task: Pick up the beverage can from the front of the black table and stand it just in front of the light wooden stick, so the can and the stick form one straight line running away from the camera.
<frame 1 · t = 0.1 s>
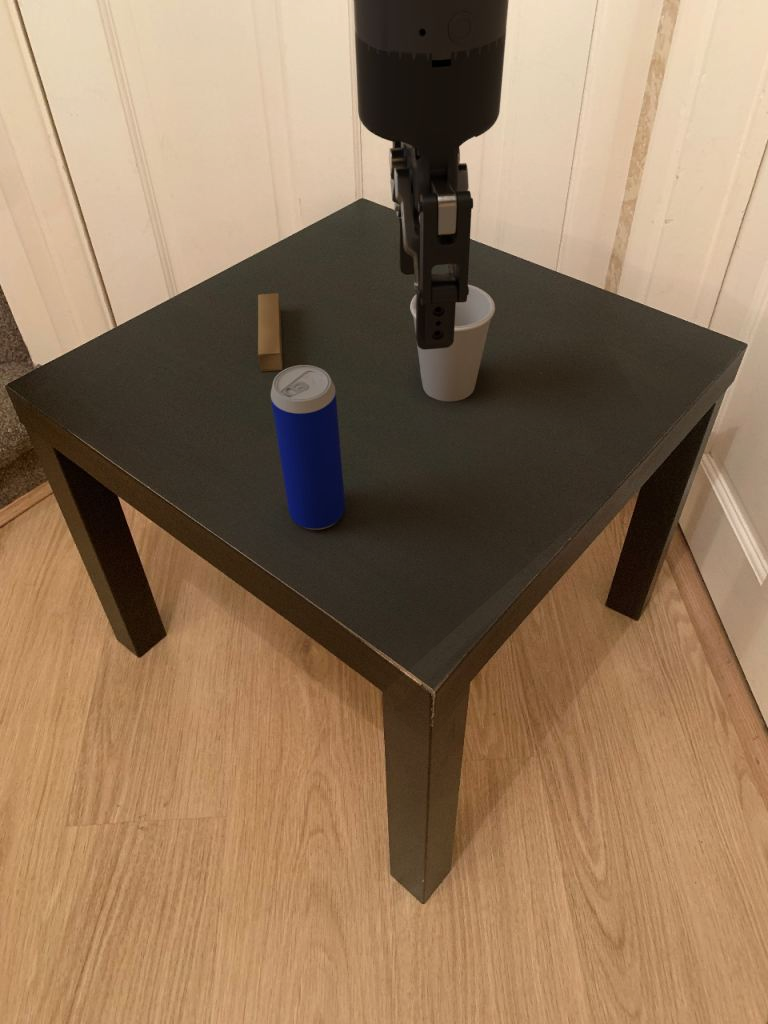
hand: (424, 306, 51), 25 cm above the table, tool pointing down, fingers open, 8 cm apart
stick: (271, 339, 92), on the table
beverage can: (317, 513, 73), on the table
dixie cup: (448, 386, 86), on the table
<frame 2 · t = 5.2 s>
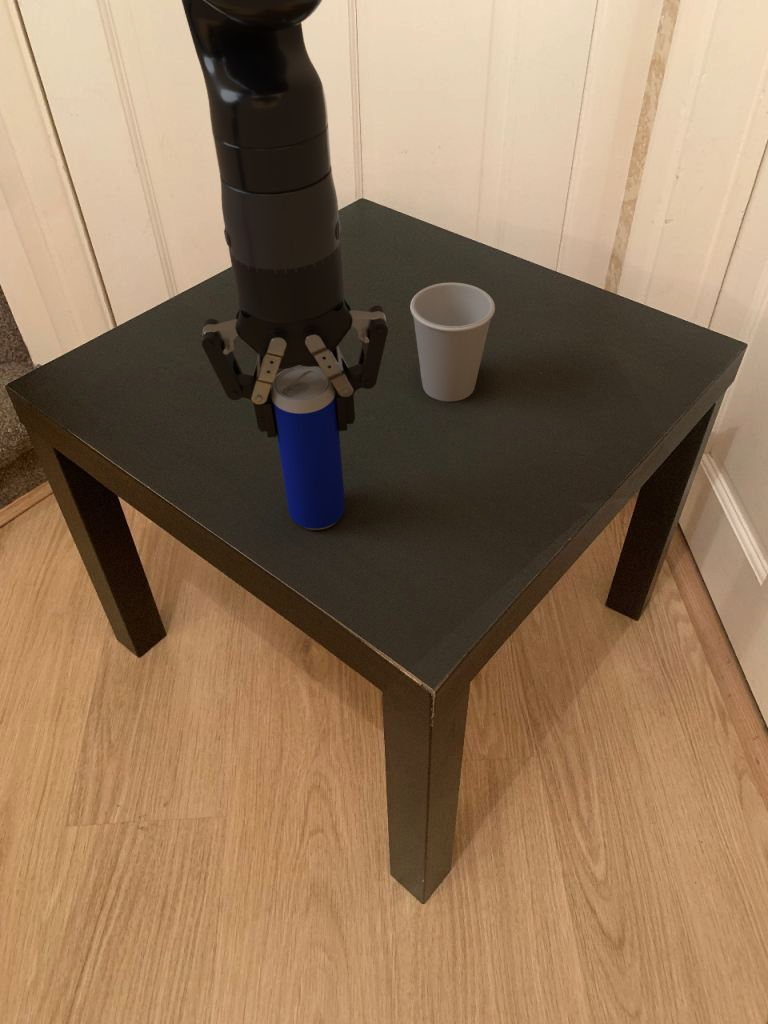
hand: (307, 426, 65), 10 cm above the table, tool pointing down, fingers closed on beverage can, 5 cm apart
beverage can: (317, 513, 73), on the table, touching gripper
everything else where it was.
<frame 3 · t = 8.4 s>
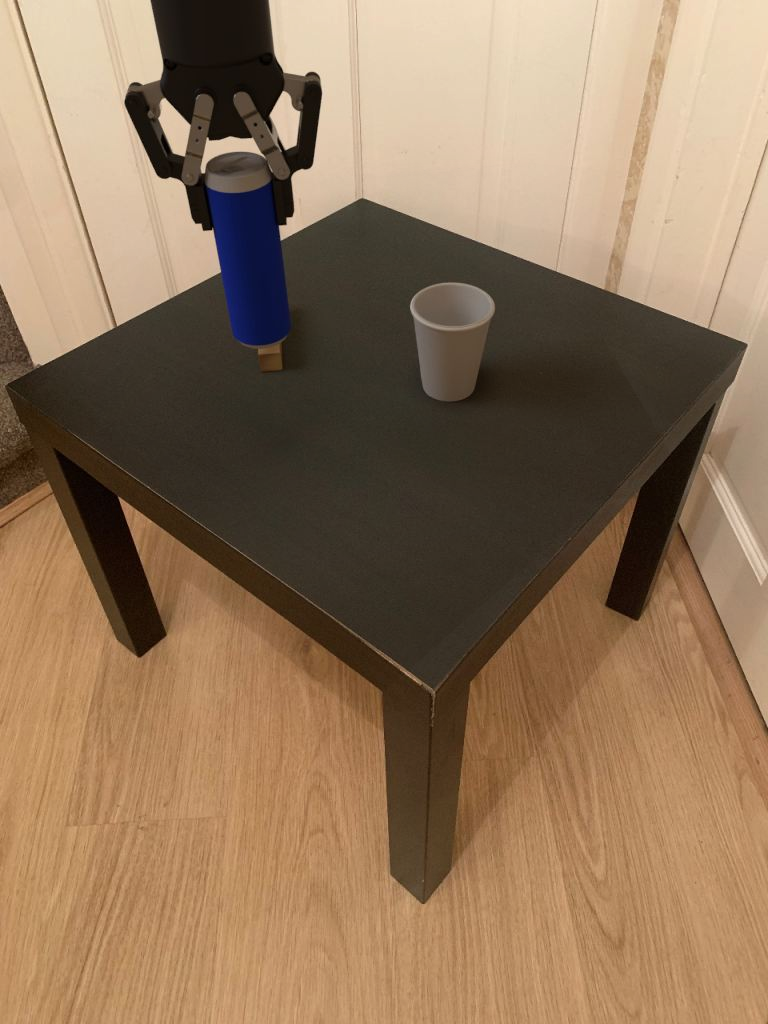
hand: (244, 222, 62), 24 cm above the table, tool pointing down, fingers closed on beverage can, 5 cm apart
beverage can: (262, 336, 70), point 13 cm above the table, touching gripper
everything else where it was.
when the fingers open (10 cm above the table, at t = 11.9 s): beverage can stays where it is, on the table.
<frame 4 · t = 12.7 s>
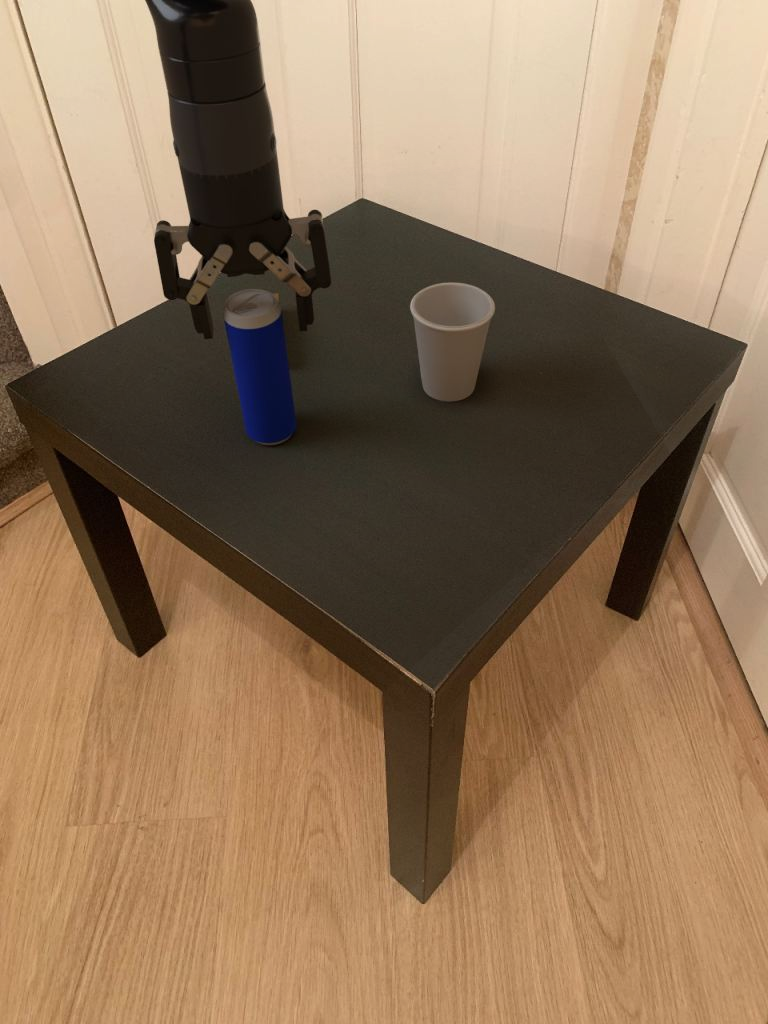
hand: (256, 330, 72), 12 cm above the table, tool pointing down, fingers open, 8 cm apart
beverage can: (272, 432, 81), on the table
everything else where it was.
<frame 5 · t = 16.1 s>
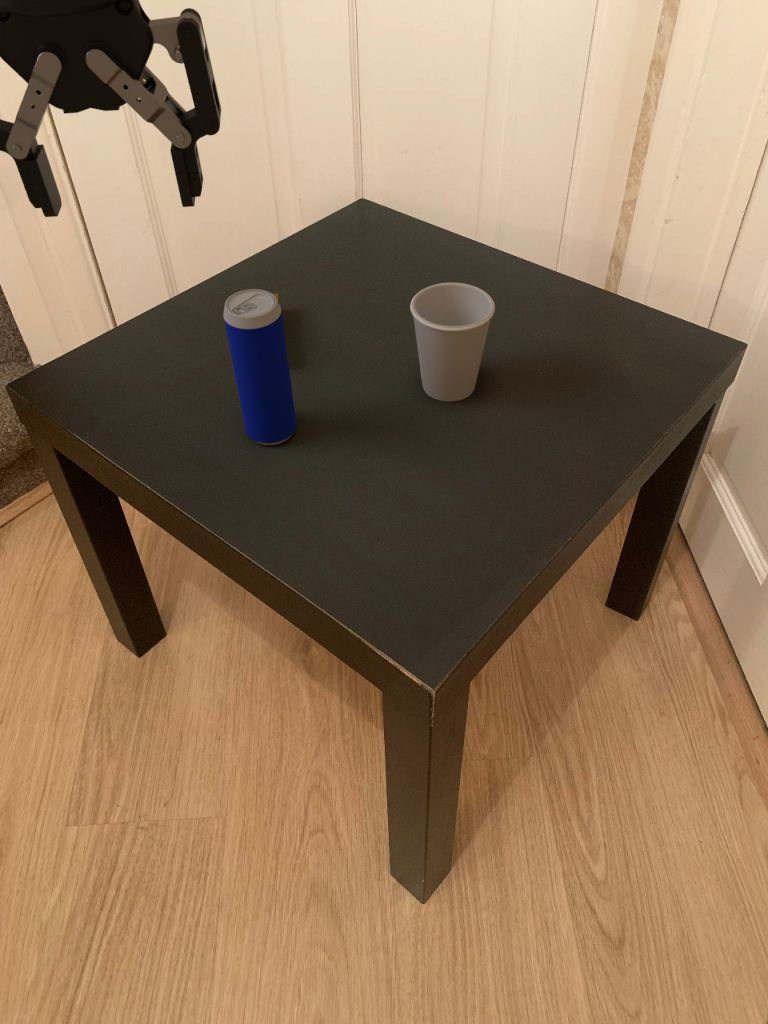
hand: (121, 206, 50), 30 cm above the table, tool pointing down, fingers open, 8 cm apart
nothing on the table moved.
at the end: beverage can 0.1 cm from the target spot on the table beside the stick, on the table; beverage can tilted 0°; stick moved 0.0 cm from its start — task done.
